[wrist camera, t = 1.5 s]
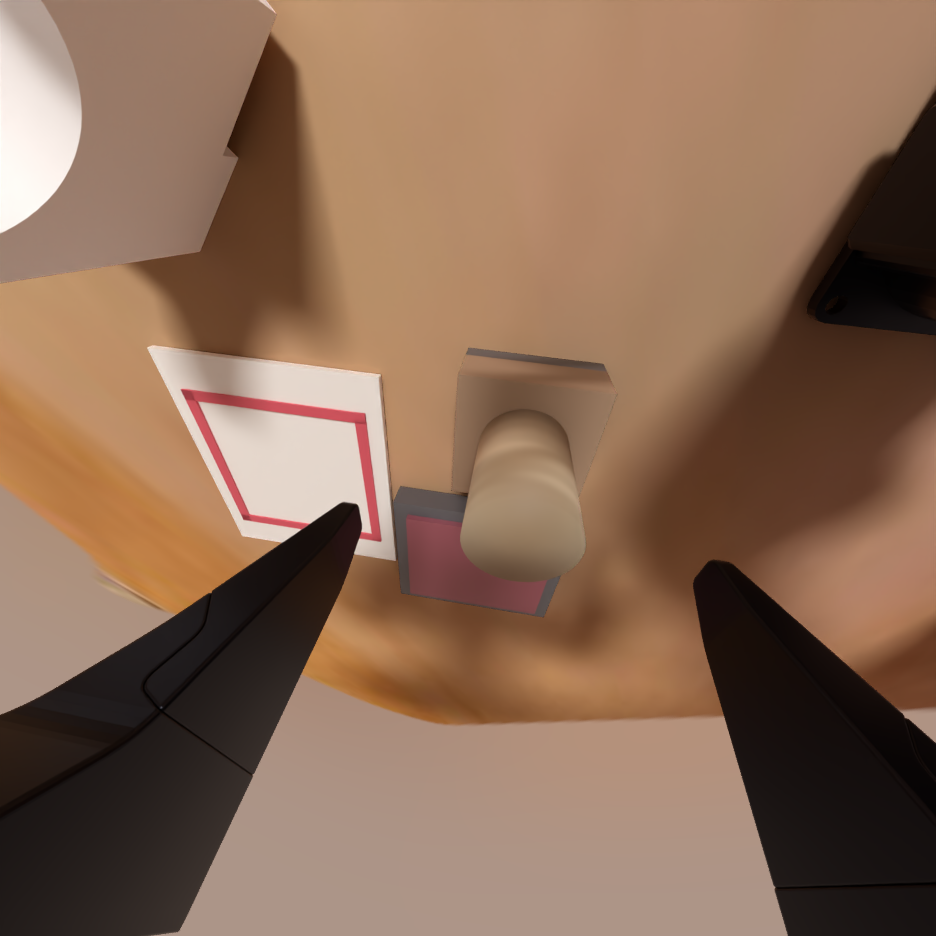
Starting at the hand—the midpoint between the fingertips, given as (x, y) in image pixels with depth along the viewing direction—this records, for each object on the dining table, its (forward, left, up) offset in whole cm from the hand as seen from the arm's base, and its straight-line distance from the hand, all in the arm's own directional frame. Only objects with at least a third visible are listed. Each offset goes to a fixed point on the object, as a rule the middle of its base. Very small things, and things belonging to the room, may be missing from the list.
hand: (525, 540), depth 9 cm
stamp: (0, 0, -7) cm, 7 cm away
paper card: (+11, +5, -7) cm, 14 cm away
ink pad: (+1, +9, -7) cm, 11 cm away
